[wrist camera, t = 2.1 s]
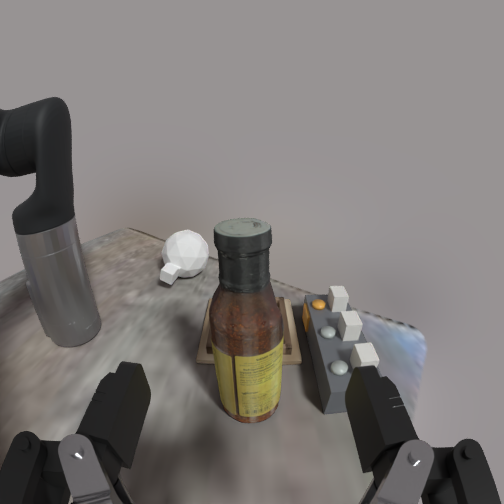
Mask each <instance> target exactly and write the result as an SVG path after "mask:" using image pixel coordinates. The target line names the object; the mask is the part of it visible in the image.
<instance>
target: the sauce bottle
mask: <svg viewBox="0 0 504 504" xmlns="http://www.w3.org/2000/svg"><path fill="white" fill-rule="evenodd" d="M214 244H215V246H216V248H217V250H218V259H219V272H220V273H219V282H220V284H219V286H218V288H217V289H216V291H215V293H214V295H213V297H212V301H211V304H210V308H209V320H210V326H211V342H212V349H213V356H214V363H215V369H216V375H217V381H218V387H219V393H220V398H221V401H222V403H223V407H224V410H225V411H226V412H227V413H228V414H229V415H230V416H231V417H233V418H234V419H236V420H238V421H240V422H243V423H255V422H261V421H264V420H266V419H267V418H269V417H270V416H271V415H272V414H273V413H274V412H275V410H276V409H277V407H278V402H279V398H280V391H281V374H282V358H283V339H284V325H283V318H282V314H281V312H280V310H279V308H278V306H277V303H276V299H275V296H274V293H273V289H272V286H271V282H270V273H269V248H270V246H271V244H272V234H271V226H270V225H269V224H268V223H266V222H264V221H261V220H258V219H254V218H238V219H231V220H227V221H222V222H221V223H218V224H217V225H216V226H215V228H214Z"/></svg>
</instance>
